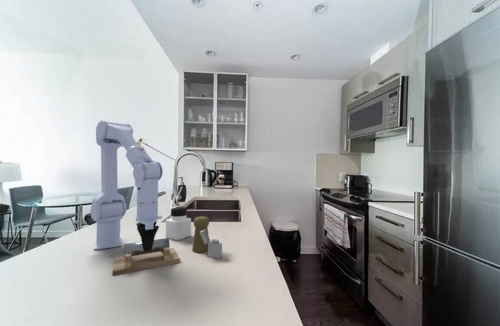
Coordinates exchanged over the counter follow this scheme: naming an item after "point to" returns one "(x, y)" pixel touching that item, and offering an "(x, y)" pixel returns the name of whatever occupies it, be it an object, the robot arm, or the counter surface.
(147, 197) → the robot arm
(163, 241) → the tube
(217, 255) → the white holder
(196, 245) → the cork
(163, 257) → the stand
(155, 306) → the counter surface
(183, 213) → the medicine bottle
